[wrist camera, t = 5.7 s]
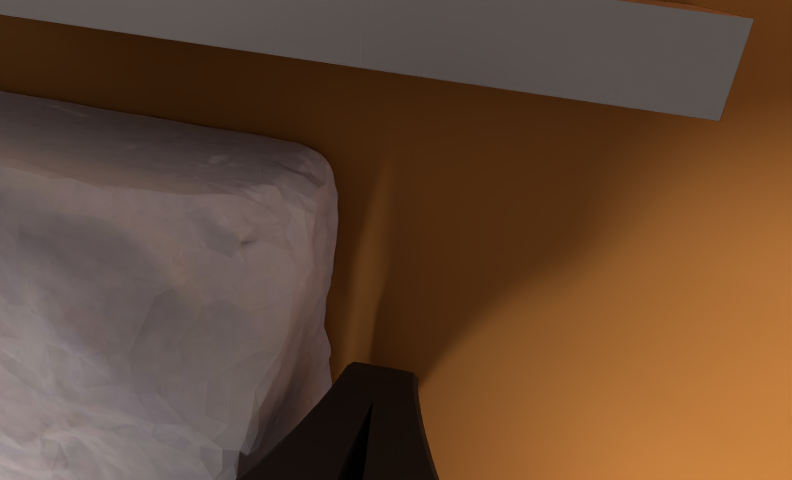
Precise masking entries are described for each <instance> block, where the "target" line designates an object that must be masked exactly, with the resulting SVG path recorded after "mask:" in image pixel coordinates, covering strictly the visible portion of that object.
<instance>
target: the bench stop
mask: <svg viewBox="0 0 792 480" xmlns="http://www.w3.org/2000/svg"><path fill="white" fill-rule="evenodd" d="M0 14H1V15H7V16H14V17H21V18H28V19H34V20H41V21H48V22H55V23H61V24H68V25H75V26H82V27H88V28H95V29H102V30H109V31H115V32H122V33H129V34H135V35H142V36H149V37H156V38H162V39H169V40H176V41H183V42H189V43H196V44H203V45H210V46H216V47H223V48H230V49H237V50H243V51H250V52H257V53H264V54H270V55H277V56H284V57H291V58H297V59H304V60H311V61H318V62H324V63H331V64H338V65H345V66H351V67H358V68H365V69H372V70H378V71H385V72H392V73H398V74H405V75H412V76H419V77H425V78H432V79H439V80H446V81H452V82H459V83H466V84H473V85H479V86H486V87H493V88H500V89H506V90H513V91H520V92H527V93H533V94H540V95H547V96H554V97H560V98H567V99H574V100H581V101H587V102H594V103H601V104H608V105H614V106H621V107H628V108H634V109H641V110H648V111H655V112H661V113H668V114H675V115H682V116H688V117H695V118H702V119H709V120H715V121H720V118H721V115H722V112H723V109H724V106H725V103H726V100H727V97H728V94H729V92H730V89H731V86H732V83H733V80H734V77H735V74H736V71H737V68H738V65H739V62H740V59H741V56H742V53H743V50H744V47H745V44H746V41H747V38H748V35H749V33H750V30H751V27H752V24H753V21H754V19H751V18H747V17H743V16H738V15H734V14H730V13H725V12H721V11H717V10H712V9H708V8H704V7H699V6H695V5H689V4H682V3H674V2H667V1H660V0H0Z"/></svg>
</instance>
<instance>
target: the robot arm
mask: <svg viewBox="0 0 792 480" xmlns="http://www.w3.org/2000/svg"><path fill="white" fill-rule="evenodd" d="M236 480H439V478H438V475H437V472H436V469H435V466H434V463H433V459H432V456H431V452H430V449H429V445H428V441H427V438H426V434H425V430H424V425H423V421H422V415H421V410H420V403H419V395H418V378H417V376H416V375H415V374H414V373H413V372H408V371H402V370H397V369H391V368H386V367H380V366H375V365H369V364H364V363H358V362H352V363H351V364H349V365H347V367H346V368H345V370H344V371H343V373H342V374H341V375H340V377H339V378H338V379H337V381H336V382H335V383H334V384H333V386H332V387H331V388H330V389H329V391H328V392H327V393H326V394H325V395H324V396H323V398H322V399H321V400H320V401H319V402H318V403H317V405H316V406H315V407H314V408H313V409H312V410H311V411H310V412H309V413H308V414H307V415H306V416H305V417H304V418H303V419H302V421H301V422H300V423H299V424H298V425H297V426H296V427H295V428H294V429H293V430H292V431H291V432H290V433H289V434H288V435H286V436H285V437H284V438H283V439H282V440H281V441H280V442H279V443H278V444H277V445H276V446H275V447H274V448H273V449H271V450H270V451H269V452H268V453H267V454H266V455H265V456H264V457H263V458H262V459H260V460H259V461H258V462H257V463H256V464H255V465H253V466H252V467H251V468H250V469H249V470H247V471H246V472H245V473H244V474H242V475H241V476H240V477H238V478H237V479H236Z"/></svg>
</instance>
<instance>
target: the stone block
mask: <svg viewBox="0 0 792 480" xmlns="http://www.w3.org/2000/svg"><path fill="white" fill-rule="evenodd" d="M337 201H338V193H337V190H336V187H335V183H334V175H333V172H332V169H331V167H330V164H329V162H328V161H327V160H326V159H325V158H324V157H323V156H322V155H321V154H320V153H319V152H317V151H315V150H312V149H310V148H308V147H306V146H304V145H302V144H300V143H296V142H290V141H284V140H279V139H275V138H271V137H267V136H262V135H257V134H251V133H245V132H239V131H232V130H226V129H219V128H212V127H205V126H199V125H194V124H188V123H183V122H178V121H173V120H167V119H161V118H155V117H149V116H143V115H137V114H131V113H125V112H119V111H113V110H107V109H102V108H97V107H91V106H86V105H81V104H75V103H70V102H64V101H59V100H53V99H45V98H38V97H32V96H26V95H21V94H15V93H10V92H4V91H0V480H236V479H237V478H238V477H240V476H241V475H242V474H244V473H245V472H246V471H247V470H249V469H250V468H251V467H252V466H253V465H255V464H256V463H257V462H258V461H259V460H260V459H262V458H263V457H264V456H265V455H266V454H267V453H268V452H269V451H270V450H271V449H273V448H274V447H275V446H276V445H277V444H278V443H279V442H280V441H281V440H282V439H283V438H284V437H285V436H286V435H288V434H289V433H290V432H291V431H292V430H293V429H294V428H295V427H296V426H297V425H298V424H299V423H300V422H301V421H302V419H303V418H304V417H305V416H306V415H307V414H308V413H309V412H310V411H311V410H312V409H313V408H314V407H315V406H316V405H317V403H318V402H319V401H320V400H321V399H322V398H323V396H324V395H325V394H326V393H327V392H328V391H329V389H330V388H331V387H332V381H331V374H330V364H329V357H330V355H331V346H330V343H329V340H328V337H327V334H326V331H325V328H324V320H325V313H326V297H327V294H328V291H329V288H330V285H331V276H332V273H333V265H334V253H335V248H336V242H337V228H338V210H337Z"/></svg>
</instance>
